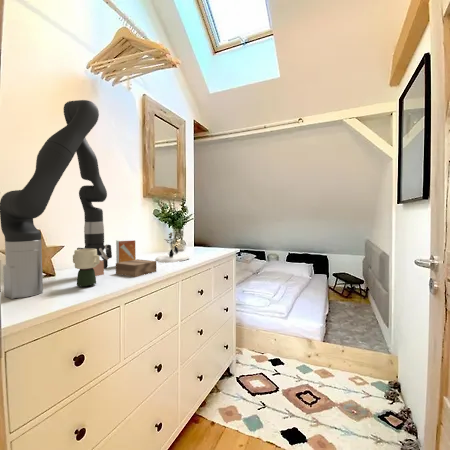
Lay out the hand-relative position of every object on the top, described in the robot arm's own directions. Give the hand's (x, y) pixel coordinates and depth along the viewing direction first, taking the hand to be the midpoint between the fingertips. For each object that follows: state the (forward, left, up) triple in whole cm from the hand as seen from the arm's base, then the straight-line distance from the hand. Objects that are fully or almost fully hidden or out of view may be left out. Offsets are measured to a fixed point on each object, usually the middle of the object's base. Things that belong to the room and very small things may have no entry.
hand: (95, 270), depth 112 cm
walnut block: (+12, -12, -2) cm, 17 cm away
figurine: (+47, 0, -2) cm, 47 cm away
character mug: (-12, -15, -2) cm, 19 cm away
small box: (+20, +6, -2) cm, 21 cm away
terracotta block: (0, 0, -2) cm, 2 cm away
